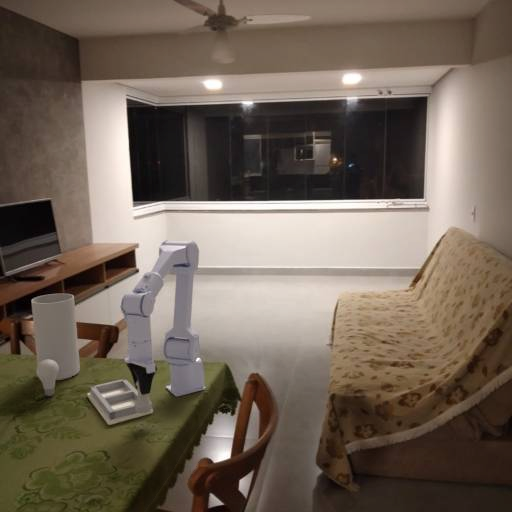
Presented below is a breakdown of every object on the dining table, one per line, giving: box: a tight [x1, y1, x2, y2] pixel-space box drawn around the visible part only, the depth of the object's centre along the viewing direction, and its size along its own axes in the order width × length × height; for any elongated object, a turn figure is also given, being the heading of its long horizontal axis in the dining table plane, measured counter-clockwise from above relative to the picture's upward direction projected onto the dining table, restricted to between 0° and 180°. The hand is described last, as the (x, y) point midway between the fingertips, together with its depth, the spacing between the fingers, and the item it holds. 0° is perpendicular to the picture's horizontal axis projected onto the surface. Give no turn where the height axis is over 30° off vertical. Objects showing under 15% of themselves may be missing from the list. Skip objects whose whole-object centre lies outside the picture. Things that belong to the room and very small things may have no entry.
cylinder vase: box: [31, 293, 81, 382], centre depth 168 cm, size 12×12×25 cm
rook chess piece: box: [135, 380, 153, 413], centre depth 134 cm, size 4×4×8 cm
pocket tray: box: [87, 378, 154, 426], centre depth 147 cm, size 12×21×3 cm, turn 32°
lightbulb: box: [36, 359, 59, 397], centre depth 153 cm, size 6×6×11 cm
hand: (142, 390), depth 134 cm, fingers closed on rook chess piece, 3 cm apart
